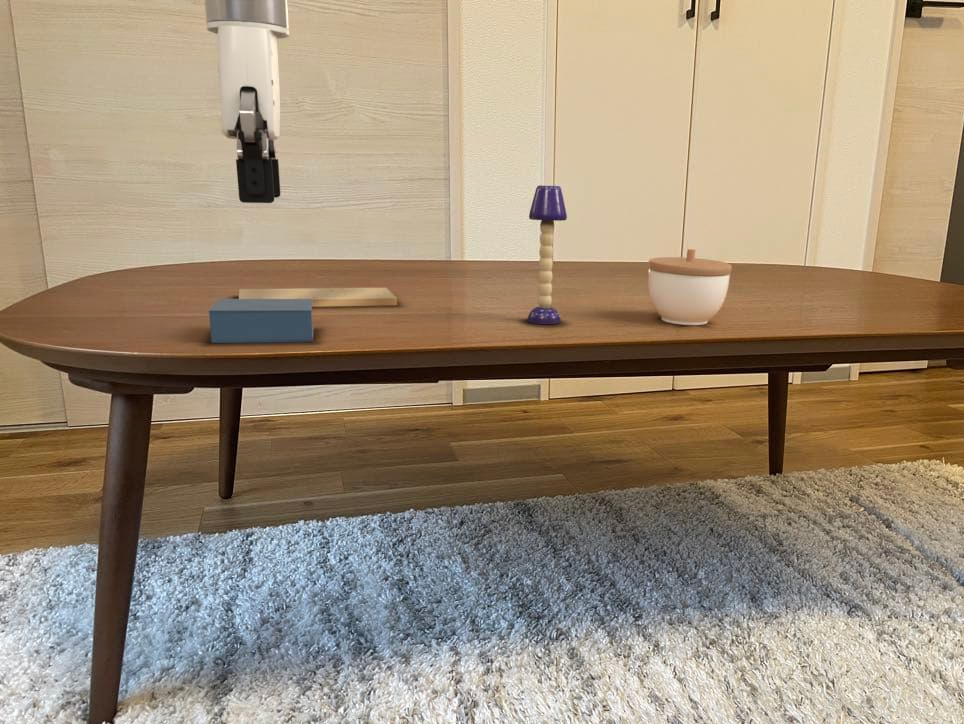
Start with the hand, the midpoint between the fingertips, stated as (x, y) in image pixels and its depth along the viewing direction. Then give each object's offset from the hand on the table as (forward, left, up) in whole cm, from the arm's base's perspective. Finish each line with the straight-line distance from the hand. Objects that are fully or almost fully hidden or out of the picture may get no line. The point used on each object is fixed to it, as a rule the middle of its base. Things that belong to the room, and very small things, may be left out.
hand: (261, 199), depth 80 cm
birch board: (+22, +4, -14) cm, 26 cm away
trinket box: (+26, -46, -15) cm, 54 cm away
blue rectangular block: (0, 0, -14) cm, 14 cm away
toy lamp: (+19, -28, -15) cm, 36 cm away
